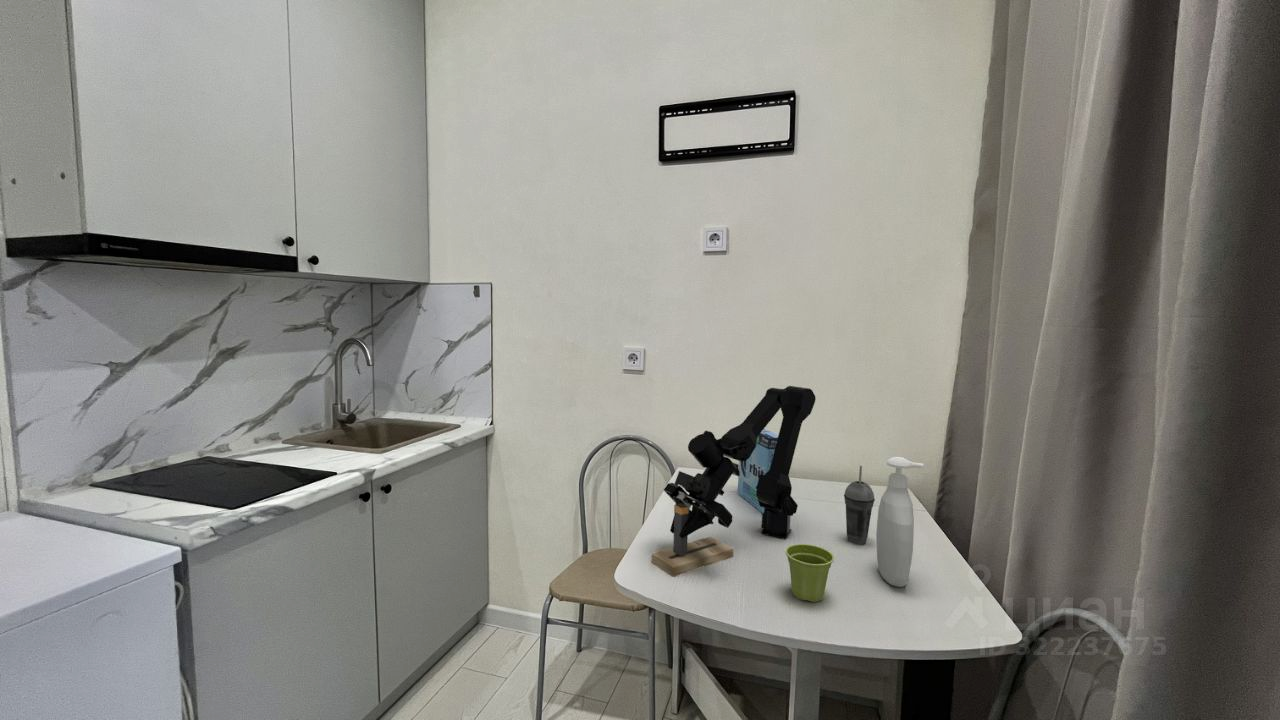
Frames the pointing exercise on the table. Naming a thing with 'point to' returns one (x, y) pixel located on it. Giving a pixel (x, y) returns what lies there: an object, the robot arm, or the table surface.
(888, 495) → the soap bottle
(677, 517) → the fader tab
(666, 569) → the fader track
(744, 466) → the gum box
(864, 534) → the beverage cup
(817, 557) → the plant pot
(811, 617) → the table surface
